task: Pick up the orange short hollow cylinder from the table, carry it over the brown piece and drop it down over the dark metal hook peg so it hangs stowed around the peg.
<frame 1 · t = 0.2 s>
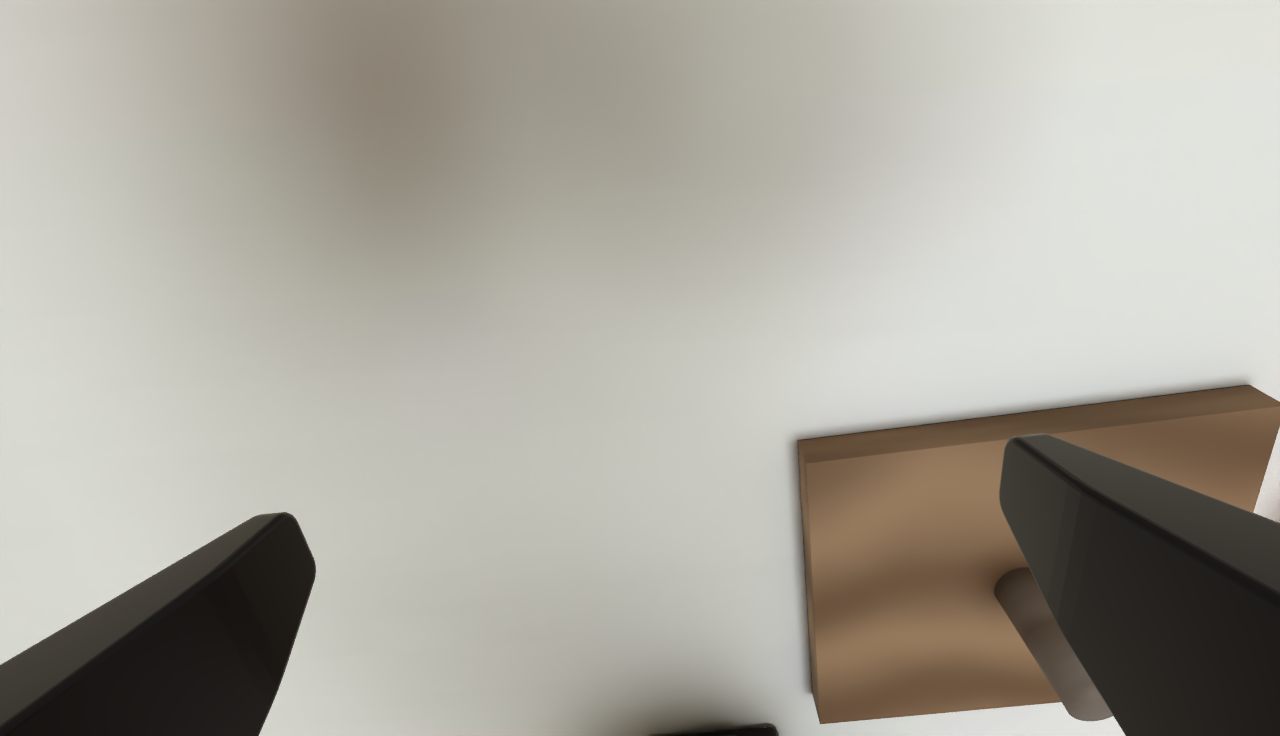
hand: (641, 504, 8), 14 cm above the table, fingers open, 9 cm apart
brown piece: (1002, 560, 27), on the table
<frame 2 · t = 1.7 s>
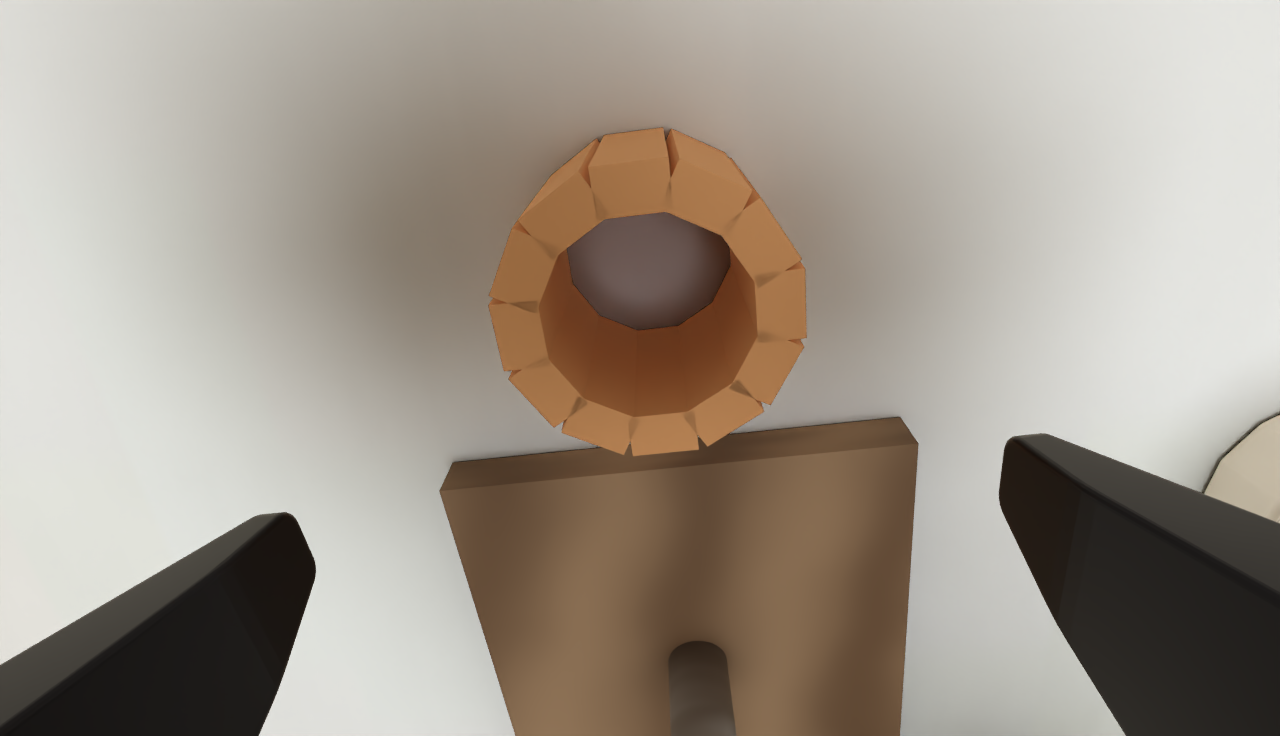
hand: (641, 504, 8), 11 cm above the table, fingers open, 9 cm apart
orange short hollow cylinder: (648, 253, 18), on the table
brown piece: (694, 627, 24), on the table
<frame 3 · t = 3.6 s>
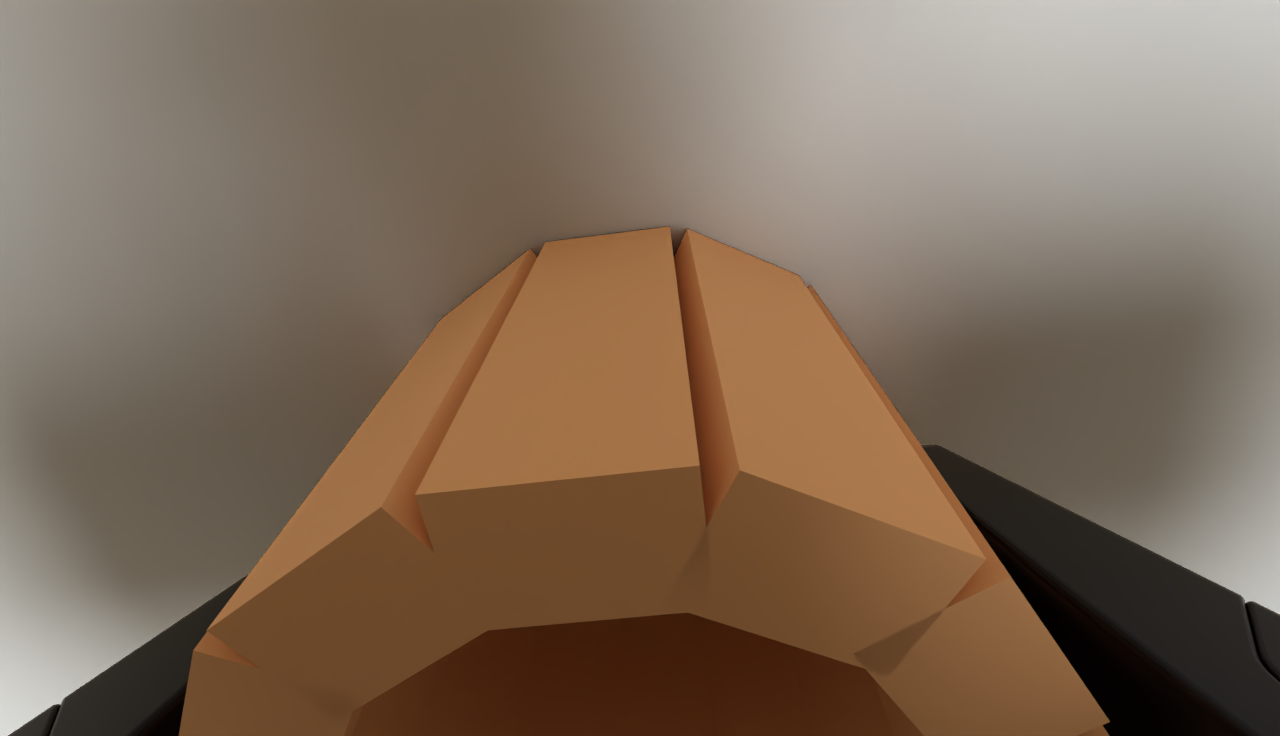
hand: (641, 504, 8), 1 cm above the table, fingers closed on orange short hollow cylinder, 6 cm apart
orange short hollow cylinder: (641, 458, 9), on the table, touching gripper
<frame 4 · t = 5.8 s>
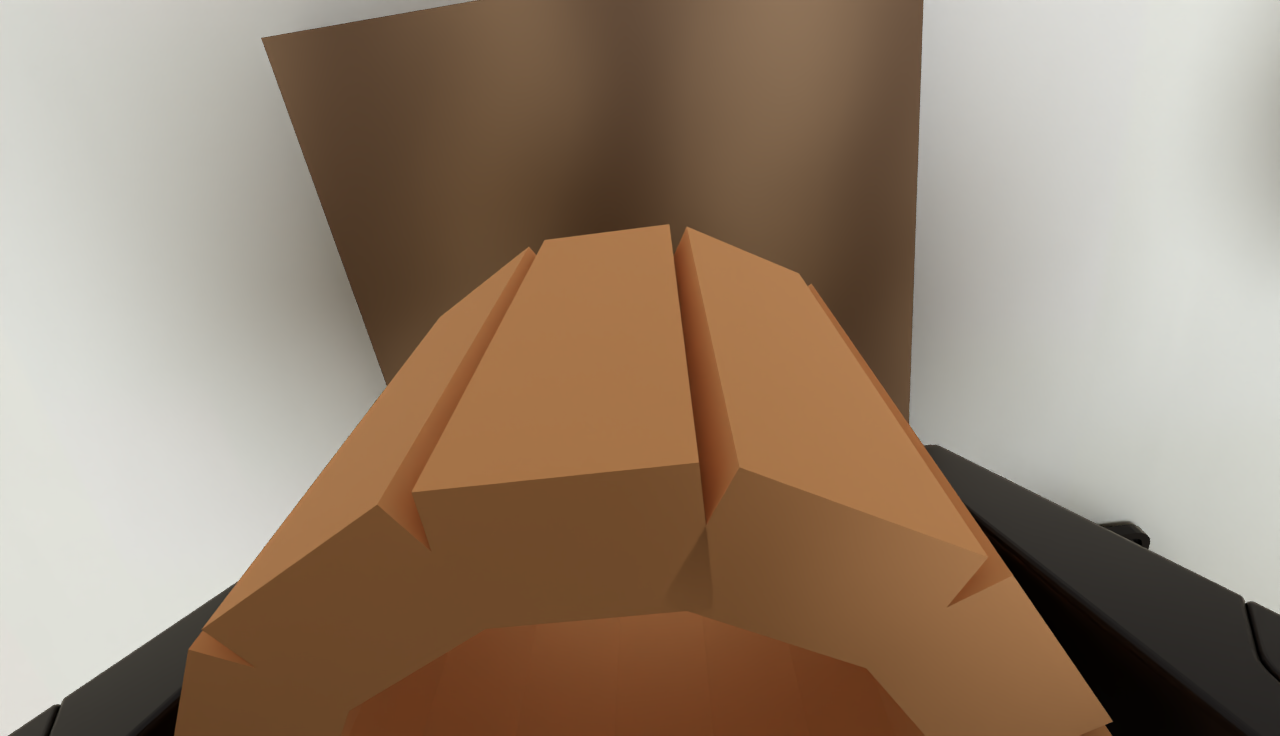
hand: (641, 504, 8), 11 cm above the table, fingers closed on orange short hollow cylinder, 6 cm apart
orange short hollow cylinder: (641, 457, 9), point 10 cm above the table, touching gripper
brown piece: (640, 311, 19), on the table
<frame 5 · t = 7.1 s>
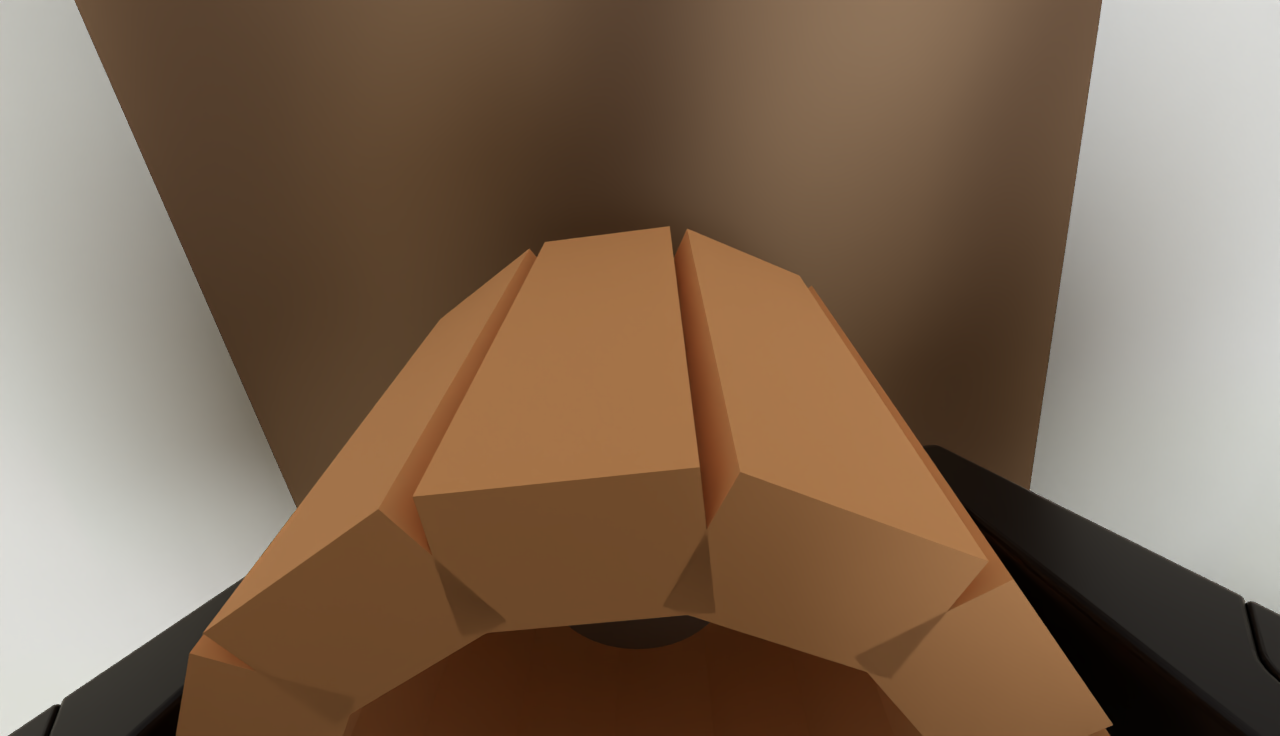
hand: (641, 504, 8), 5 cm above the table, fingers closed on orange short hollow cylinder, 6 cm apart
orange short hollow cylinder: (641, 459, 9), point 4 cm above the table, touching gripper
brown piece: (640, 340, 13), on the table
when the fingers open (5 cm above the table, at t = 8.0 s): orange short hollow cylinder drops 3 cm, resting on brown piece.
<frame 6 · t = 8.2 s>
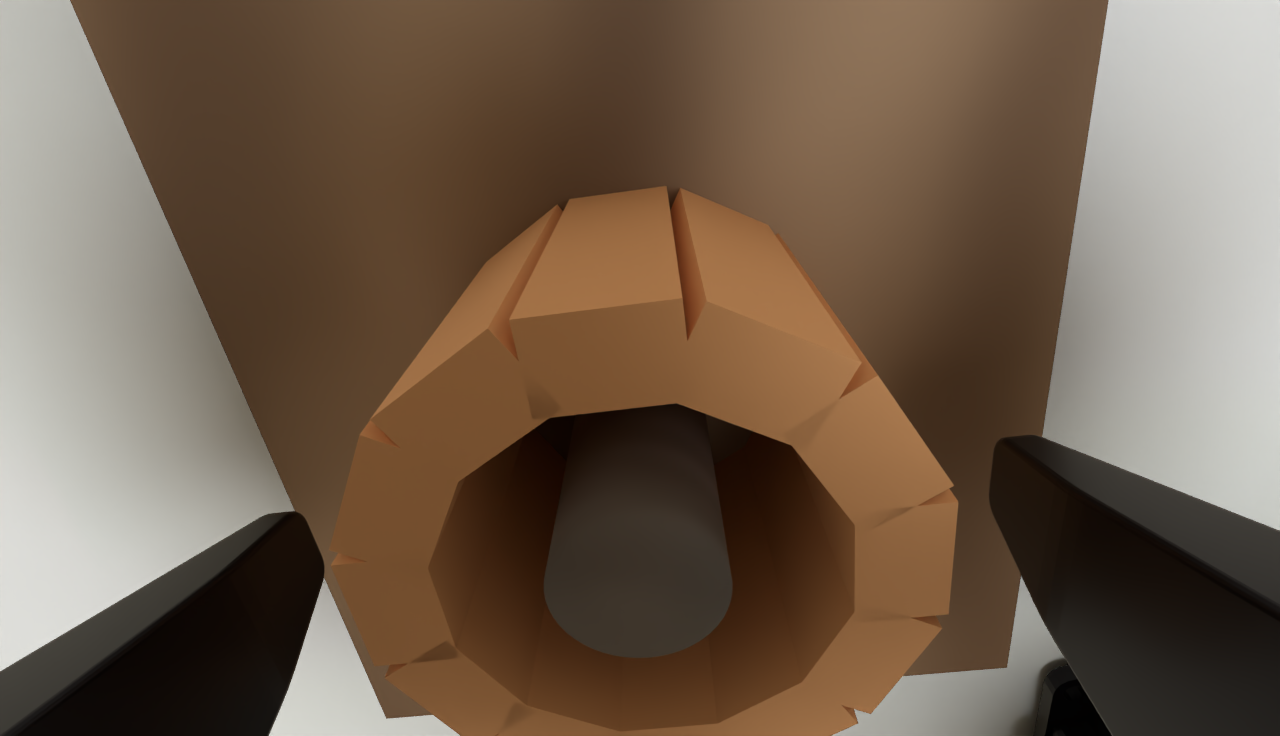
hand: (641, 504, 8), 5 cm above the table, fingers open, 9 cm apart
orange short hollow cylinder: (645, 378, 12), point 1 cm above the table, touching brown piece
brown piece: (641, 343, 13), on the table
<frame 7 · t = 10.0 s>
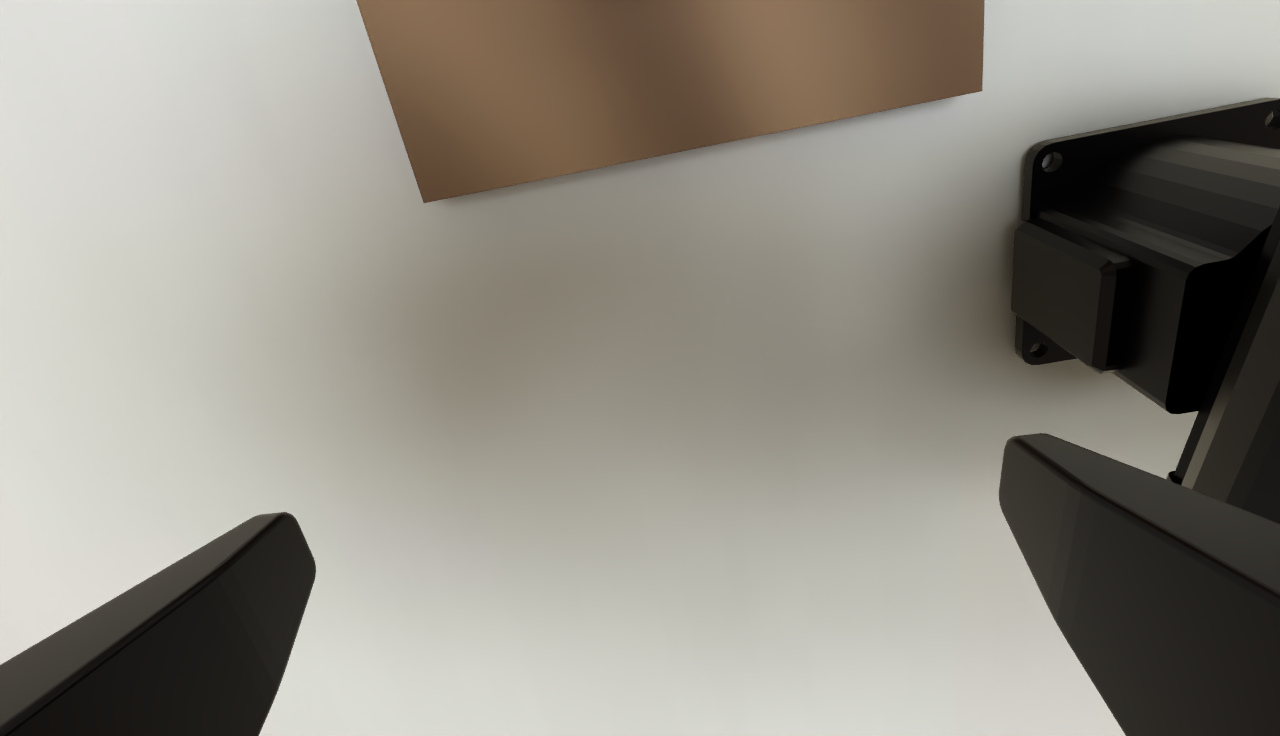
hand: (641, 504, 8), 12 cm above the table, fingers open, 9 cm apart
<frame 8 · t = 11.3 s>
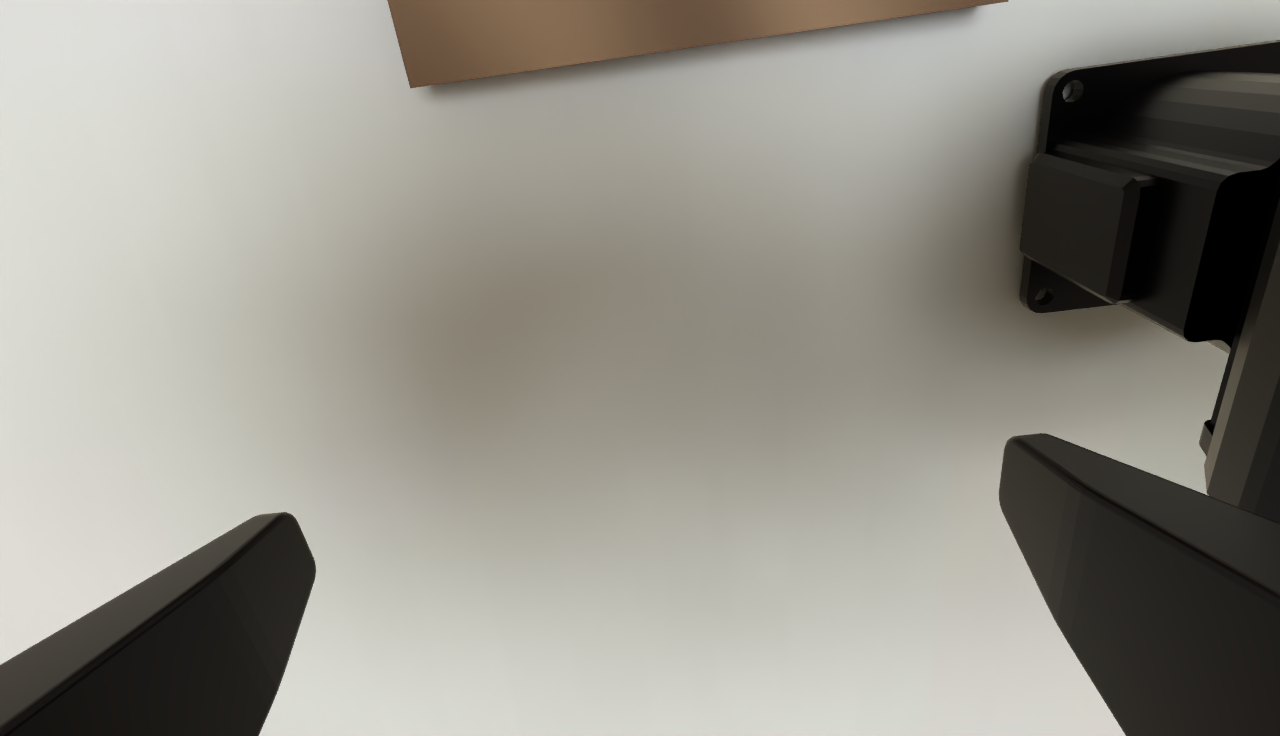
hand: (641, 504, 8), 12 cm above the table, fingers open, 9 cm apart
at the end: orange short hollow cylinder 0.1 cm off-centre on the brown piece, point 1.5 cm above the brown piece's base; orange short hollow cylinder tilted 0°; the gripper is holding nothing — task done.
